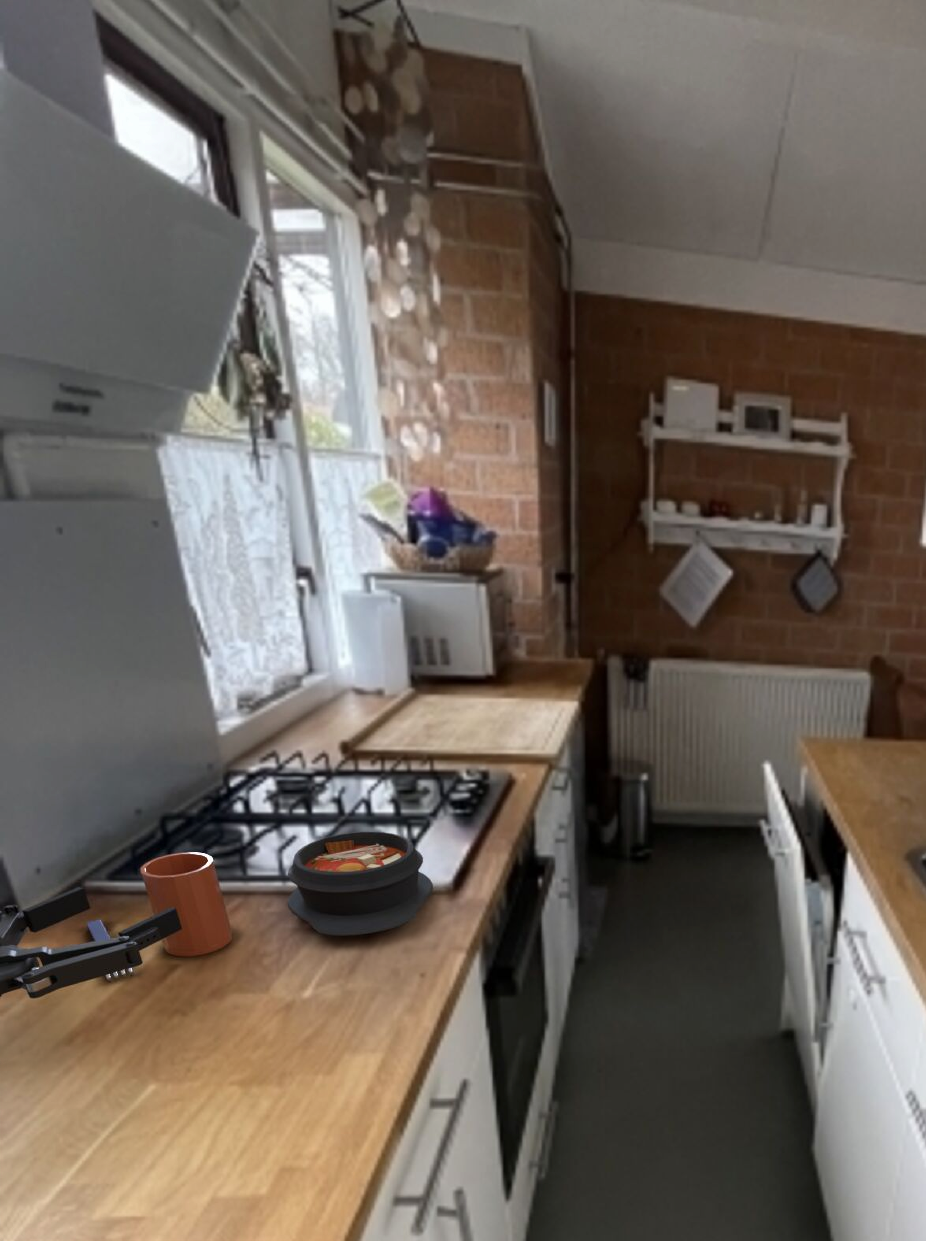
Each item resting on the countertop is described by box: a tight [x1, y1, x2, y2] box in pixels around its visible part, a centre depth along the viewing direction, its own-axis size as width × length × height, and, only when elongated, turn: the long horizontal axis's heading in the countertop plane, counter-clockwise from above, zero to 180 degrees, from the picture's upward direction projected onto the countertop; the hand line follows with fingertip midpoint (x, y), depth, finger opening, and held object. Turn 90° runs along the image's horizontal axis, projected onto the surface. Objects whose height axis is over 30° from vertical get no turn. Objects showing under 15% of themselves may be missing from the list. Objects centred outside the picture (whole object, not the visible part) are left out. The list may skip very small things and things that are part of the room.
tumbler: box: [140, 851, 234, 957], centre depth 109 cm, size 7×7×11 cm
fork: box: [86, 919, 135, 982], centre depth 108 cm, size 16×3×1 cm, turn 44°
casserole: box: [286, 831, 434, 936], centre depth 121 cm, size 25×19×8 cm
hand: (130, 907), depth 102 cm, fingers open, 13 cm apart
